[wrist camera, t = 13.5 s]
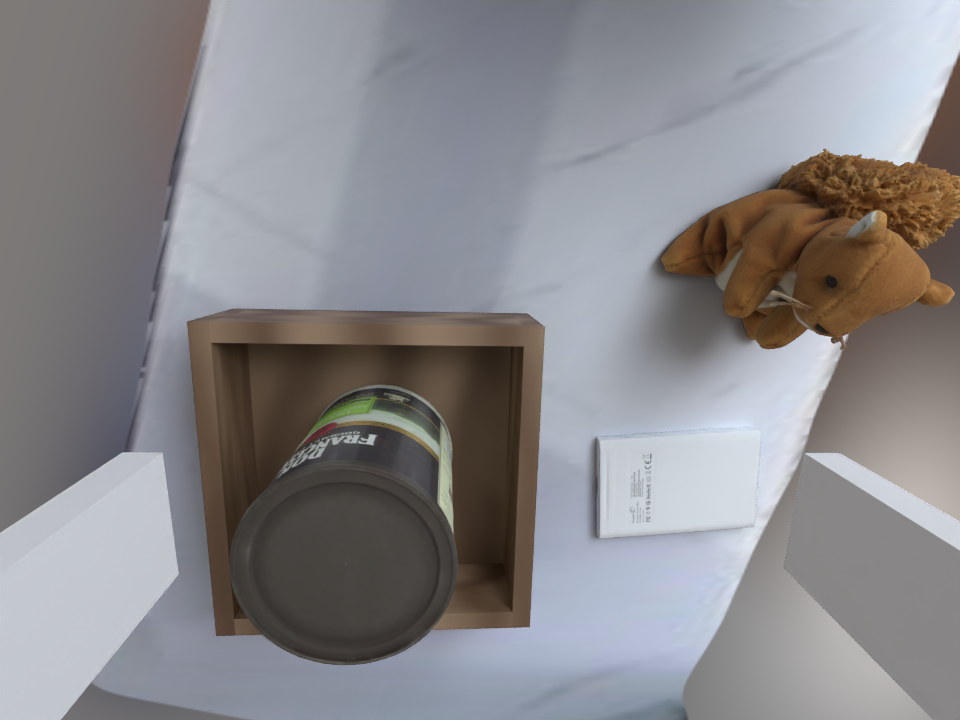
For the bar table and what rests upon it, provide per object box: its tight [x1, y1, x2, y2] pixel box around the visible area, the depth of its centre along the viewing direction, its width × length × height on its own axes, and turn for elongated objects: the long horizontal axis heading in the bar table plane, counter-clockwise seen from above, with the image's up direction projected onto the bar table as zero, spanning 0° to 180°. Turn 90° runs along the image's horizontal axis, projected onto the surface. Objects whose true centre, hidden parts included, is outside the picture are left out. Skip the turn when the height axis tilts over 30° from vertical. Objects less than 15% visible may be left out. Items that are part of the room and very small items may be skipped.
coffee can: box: [229, 385, 458, 665], centre depth 30 cm, size 10×10×14 cm
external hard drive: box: [596, 426, 761, 539], centre depth 40 cm, size 2×8×12 cm
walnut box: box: [187, 309, 545, 636], centre depth 35 cm, size 20×20×6 cm
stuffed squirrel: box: [661, 149, 960, 349], centre depth 31 cm, size 10×14×13 cm
